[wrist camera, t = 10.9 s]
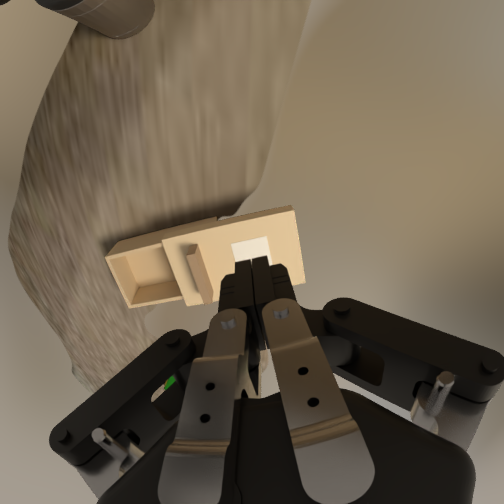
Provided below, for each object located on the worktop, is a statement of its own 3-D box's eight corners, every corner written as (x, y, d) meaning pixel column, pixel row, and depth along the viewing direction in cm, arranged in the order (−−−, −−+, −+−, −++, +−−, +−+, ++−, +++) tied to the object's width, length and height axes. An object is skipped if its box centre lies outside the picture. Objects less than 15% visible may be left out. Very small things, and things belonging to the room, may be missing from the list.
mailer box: (118, 241, 47) (104, 257, 41) (216, 216, 46) (213, 230, 40) (138, 289, 51) (129, 308, 46) (231, 270, 50) (231, 289, 45)
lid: (165, 233, 41) (155, 249, 37) (290, 204, 40) (298, 217, 35) (189, 297, 46) (184, 318, 42) (302, 274, 45) (309, 293, 41)
